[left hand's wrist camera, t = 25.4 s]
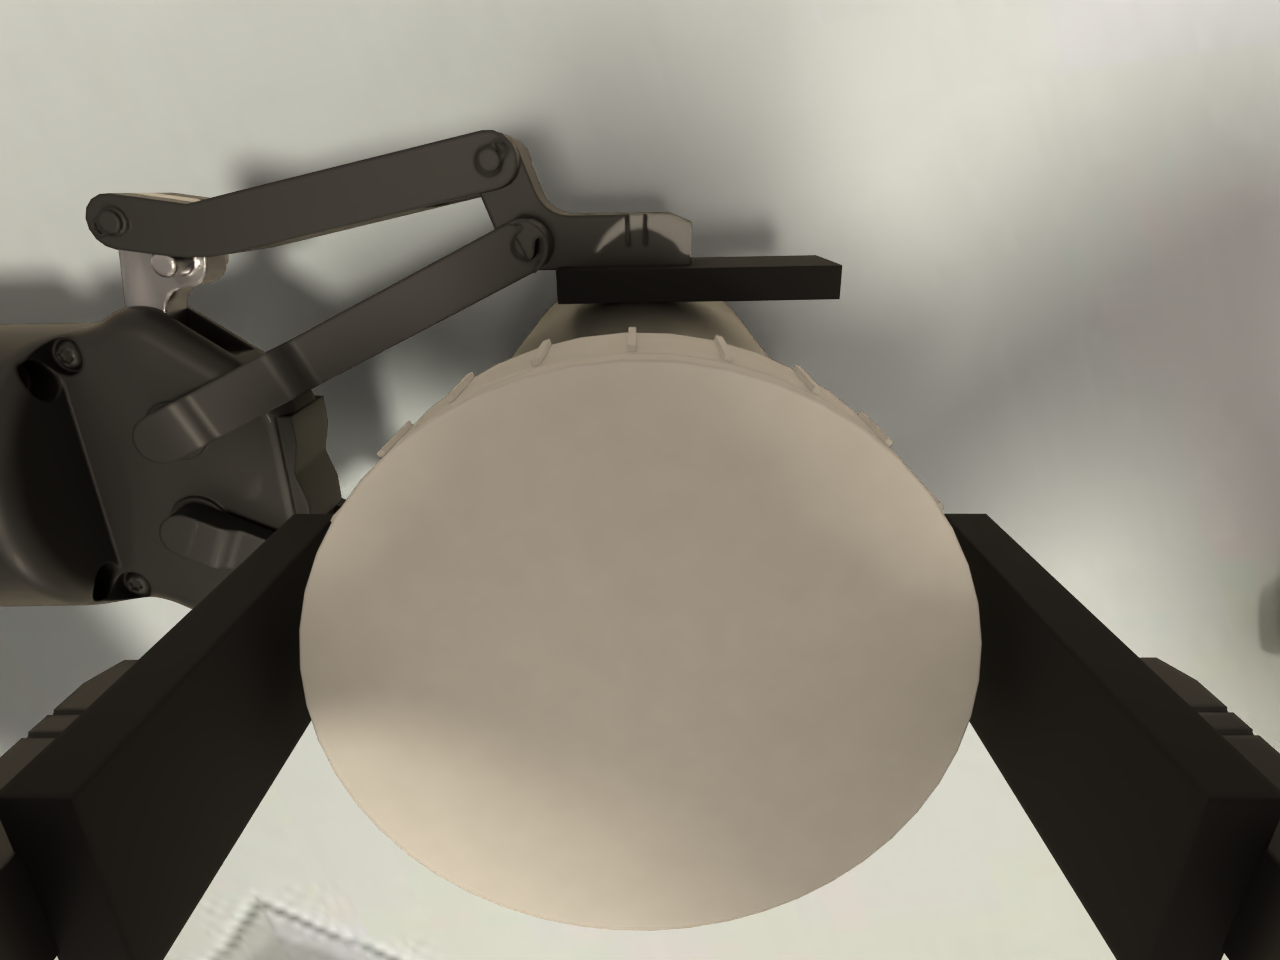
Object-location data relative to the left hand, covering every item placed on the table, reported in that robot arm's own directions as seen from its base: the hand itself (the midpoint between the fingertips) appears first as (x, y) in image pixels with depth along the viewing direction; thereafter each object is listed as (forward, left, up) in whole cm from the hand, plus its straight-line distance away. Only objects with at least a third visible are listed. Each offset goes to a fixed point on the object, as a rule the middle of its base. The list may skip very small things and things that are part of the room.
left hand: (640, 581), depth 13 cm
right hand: (-4, -3, -7) cm, 8 cm away
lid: (0, 0, +3) cm, 3 cm away
